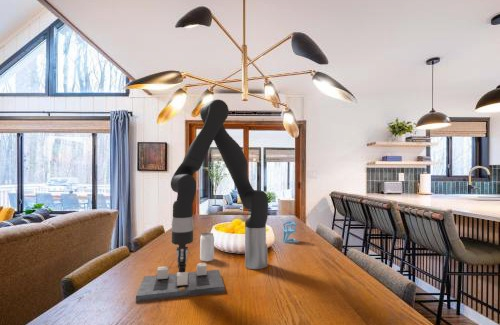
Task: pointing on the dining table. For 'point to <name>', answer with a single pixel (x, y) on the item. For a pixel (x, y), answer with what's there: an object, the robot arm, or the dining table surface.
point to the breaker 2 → (201, 269)
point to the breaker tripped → (182, 278)
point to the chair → (289, 232)
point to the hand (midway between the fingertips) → (181, 278)
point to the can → (206, 247)
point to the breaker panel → (169, 289)
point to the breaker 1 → (162, 272)
